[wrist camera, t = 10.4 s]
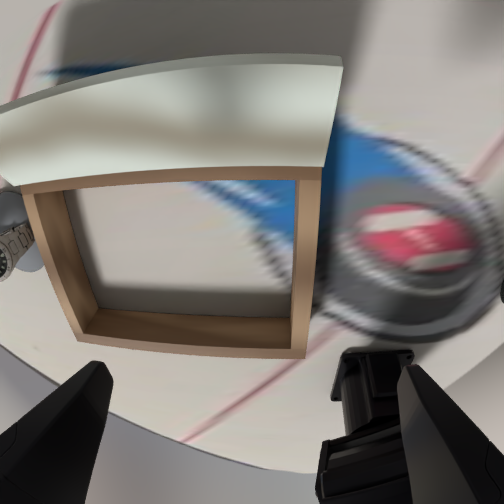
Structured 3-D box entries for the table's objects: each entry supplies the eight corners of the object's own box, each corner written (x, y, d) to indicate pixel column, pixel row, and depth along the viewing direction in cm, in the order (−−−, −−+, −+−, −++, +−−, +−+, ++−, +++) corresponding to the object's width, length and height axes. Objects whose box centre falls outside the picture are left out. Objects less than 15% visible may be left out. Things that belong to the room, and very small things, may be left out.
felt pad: (61, 270, 22) (58, 273, 22) (6, 267, 23) (4, 270, 22) (35, 187, 19) (32, 189, 18) (-19, 195, 19) (-22, 197, 19)
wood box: (302, 327, 23) (307, 410, 17) (92, 316, 24) (55, 380, 18) (315, 63, 14) (343, 54, 8) (35, 100, 15) (-46, 126, 9)
